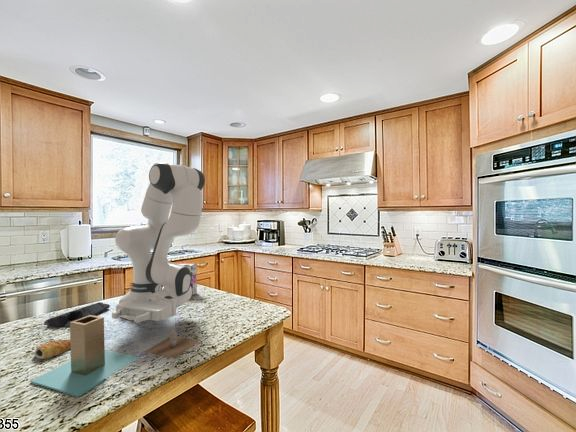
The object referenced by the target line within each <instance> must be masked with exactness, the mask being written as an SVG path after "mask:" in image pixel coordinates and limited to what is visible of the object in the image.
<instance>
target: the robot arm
mask: <svg viewBox="0 0 576 432" xmlns="http://www.w3.org/2000/svg"><path fill="white" fill-rule="evenodd" d="M148 180H149V183H148V186H147V189H146V192H145V195H144V198H143V201H142V206H141V208H140V212H141V214H142V216H143V217H144V218H146V219H147V220H148V221H147V224H146V225H134V226H133V225H131V226H127V227H123V228H121V229H119V230H118V232H117V233H116V235H115V238H114V239H115V241H114V242H115V245H116V247H117V248H118V249H119V250H120V251H121V252H123V253H124V254H125V255H126V256H127V257H128V258H129V260H130V262H131V265H132V272H133V273H132V274H133V275H132V276H133V281H132V282H131V283H129V287H130V290H129V291H128V292H126V294H125V295H123V296H122V297H121V298H119V300H118V304H117V305H116V306H115V309H114V310H112V313H111V316H112V317H111V318H112V319H114V320H118V319H120V318H123V319H126V320H128V321H133V322H134V323H141V322H144V321H145V322H146V321H155V322H162V321H165V320H167V319H169V318H171V317H175V316H176V314H177V308H179V307H181V306H183V305H184V304H186V303H187V302H188V301H189V300H190V299H191V297H192V296H191V295H192V288H191V286H190V285H191V280H192V277H191V272H190V270H189V268H188V267H185V266H182V265H179V264H180V263H175V262H172V261H170V260H169V259H168V255H169V251H170V248H171V245H172V244H173V243H174V240H175V238H177V237H183V236H188V235H190V234H193V233H194V232H195V231H196V230H198V227H199V225H200V222H201V215H202V208H203V207H202V206H203V193H202V190H203V189H204V187H205V183H206V180H205V175H204V173H203V172H202V171H201V170H199V169H197V168H195V167H190V166H186V165H184V164H174V163H167V162H155V163H154V164H153V165H152V166H151V167H150V169H149V172H148ZM151 250H152V252H151ZM151 253H152V254H151Z"/></svg>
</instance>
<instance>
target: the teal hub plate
mask: <svg viewBox="0 0 576 432" xmlns="http://www.w3.org/2000/svg"><path fill="white" fill-rule="evenodd" d="M137 359H140V357H139V356H135V355H131V354H125V353H121V352H115V351H112V350H107V349H105V365H103V366H102V367H100V368H98V369H96V370H95V371H93V372H91V373H89V374H88V375H86V376H85V375H81V374H77V373H73V372H71V360H70V361H67V362H66V363H64V364H61V365H59V366H58V367H55V368H53V369H52V370H49V371H47V372H45V373H43V374H42V375H40V376H37V377H36V378H33V379H30V381H29V383H30V382H31V383H34V384H33V385H35V384H37V385H36V386H38V385H41V386H44V387H43V388H45V387H47V388H46V389H48V388H51V389H54V390H57V391H56V392H58V391H61V392H63V393H62V394H64V393H67V394H66V395H68V394H70V395H69V396H71V395H72V397H74V396H76V397H75V398H80V397H81V396H83V395H84V394H87V393H88V392H89V391H91V390H92V389H94V388H96V387H97V386H99V385H101V384H102V383H104V382H106V381H107V380H108V378H109V377H110V376H112V375H114V374H115V373H116V372H118V371H120V370H121V369H123V368H125V367H126V366H128V365H130V364H132V363H133V362H134V361H135V360H137ZM31 383H30V384H31ZM41 386H40V387H41ZM95 386H96V387H95ZM51 389H50V390H51ZM54 390H53V391H54ZM61 392H60V393H61ZM79 396H80V397H79Z"/></svg>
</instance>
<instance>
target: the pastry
mask: <svg viewBox="0 0 576 432" xmlns="http://www.w3.org/2000/svg"><path fill="white" fill-rule="evenodd" d="M68 350H69V351H70V350H71V346H70V339H64V340H60V339H59V340H55V341H54V340H53V341H48V342H47V343H43V344H40V345H39V346H36V349H35V350H34V353H33V354H34V356H35V358H36V359H39V360H47V359H52V358H53V357H54V356H59V355H62V354H63V353H65V352H68Z"/></svg>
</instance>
